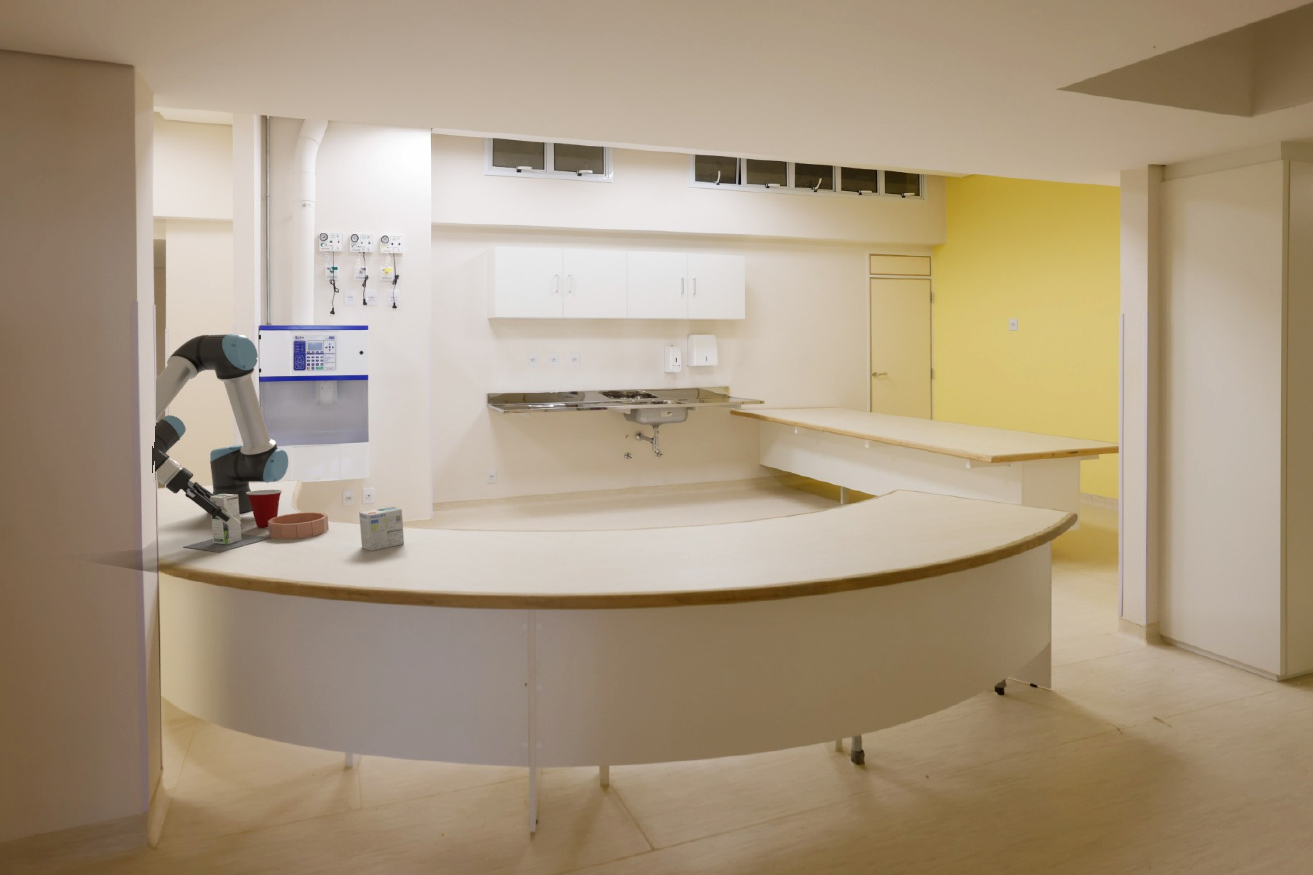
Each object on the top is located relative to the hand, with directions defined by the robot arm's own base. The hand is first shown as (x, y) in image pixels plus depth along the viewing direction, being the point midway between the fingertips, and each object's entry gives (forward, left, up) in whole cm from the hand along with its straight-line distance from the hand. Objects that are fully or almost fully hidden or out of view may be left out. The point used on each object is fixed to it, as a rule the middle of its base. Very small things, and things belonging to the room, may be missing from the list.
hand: (238, 523), depth 263 cm
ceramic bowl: (-15, +8, -6) cm, 18 cm away
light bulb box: (-12, +46, -6) cm, 48 cm away
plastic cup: (-17, -9, -6) cm, 21 cm away
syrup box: (+3, -2, -6) cm, 7 cm away
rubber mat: (+3, -2, -6) cm, 7 cm away
